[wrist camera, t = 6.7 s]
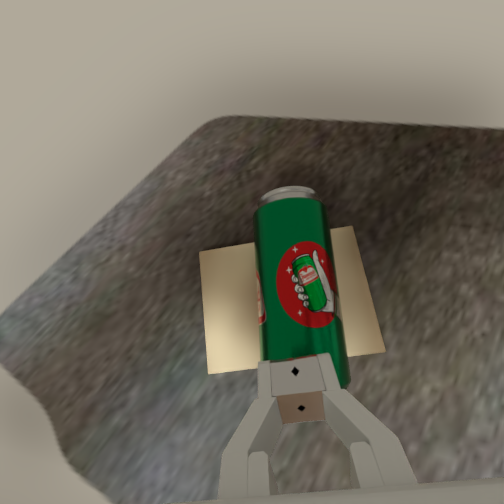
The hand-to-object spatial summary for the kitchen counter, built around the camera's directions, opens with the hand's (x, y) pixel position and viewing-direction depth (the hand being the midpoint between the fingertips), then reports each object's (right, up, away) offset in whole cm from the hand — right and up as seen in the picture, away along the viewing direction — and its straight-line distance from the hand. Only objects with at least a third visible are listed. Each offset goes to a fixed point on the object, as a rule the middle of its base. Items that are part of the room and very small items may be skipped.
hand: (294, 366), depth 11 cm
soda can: (+1, -3, +4) cm, 5 cm away
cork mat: (0, +1, +9) cm, 9 cm away
